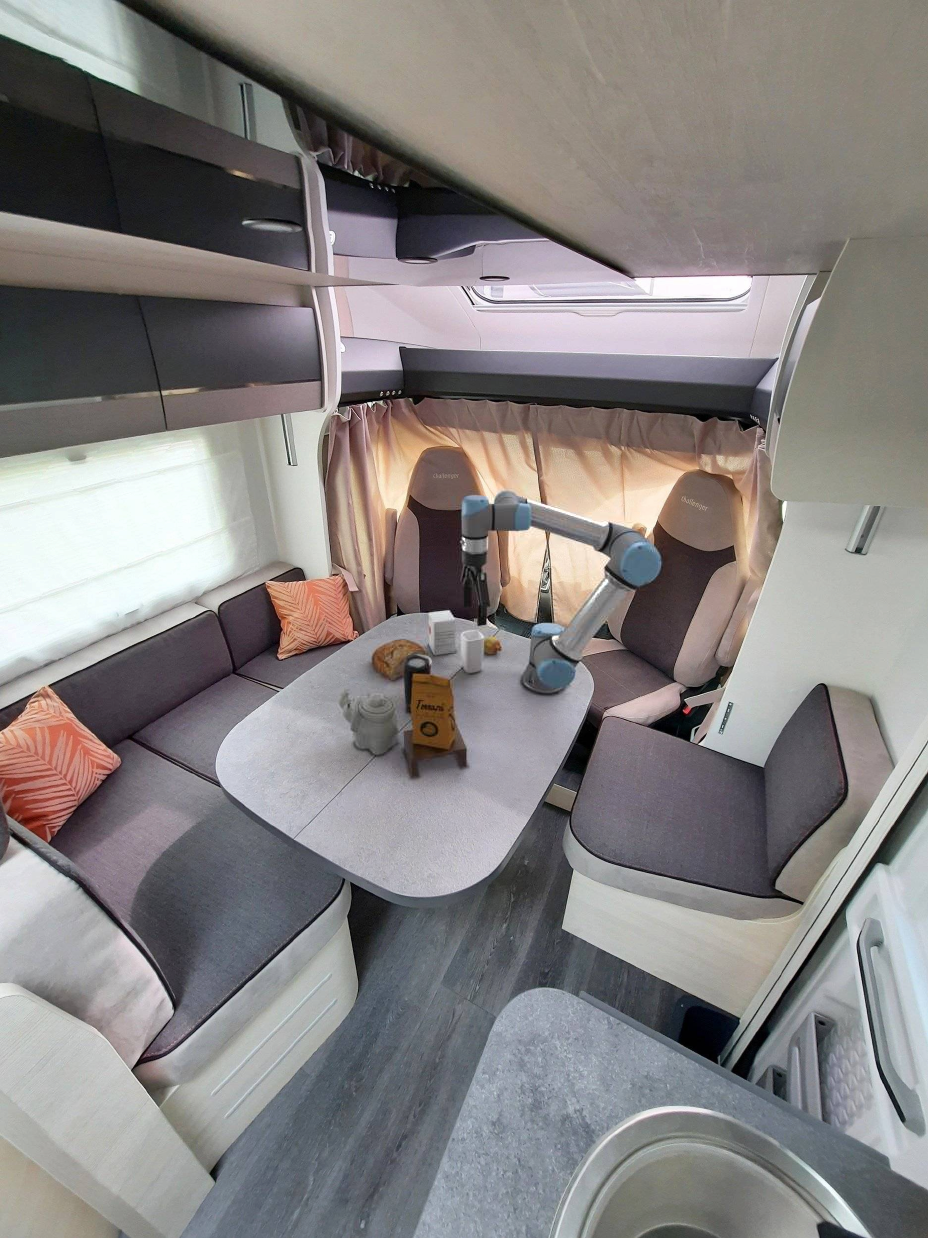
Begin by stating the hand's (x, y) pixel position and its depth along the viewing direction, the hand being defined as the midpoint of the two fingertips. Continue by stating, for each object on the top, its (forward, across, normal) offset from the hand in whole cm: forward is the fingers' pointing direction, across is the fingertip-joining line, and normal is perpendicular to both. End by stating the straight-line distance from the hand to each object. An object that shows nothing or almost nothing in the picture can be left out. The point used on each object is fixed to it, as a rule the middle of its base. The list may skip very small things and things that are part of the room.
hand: (474, 615), depth 158 cm
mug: (+34, -13, -16) cm, 39 cm away
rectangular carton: (+34, -39, 0) cm, 52 cm away
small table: (+34, +21, -20) cm, 44 cm away
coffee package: (+27, +21, -20) cm, 39 cm away
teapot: (+34, +8, -36) cm, 50 cm away
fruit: (+34, -30, +18) cm, 49 cm away
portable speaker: (+34, -2, -19) cm, 39 cm away
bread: (+34, -33, -19) cm, 51 cm away
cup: (+34, -21, +6) cm, 41 cm away
